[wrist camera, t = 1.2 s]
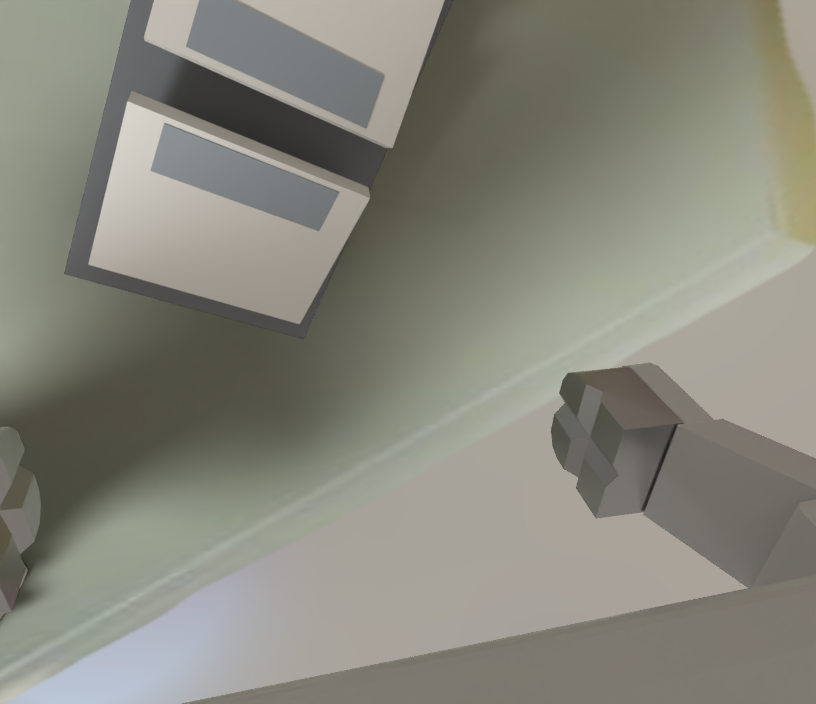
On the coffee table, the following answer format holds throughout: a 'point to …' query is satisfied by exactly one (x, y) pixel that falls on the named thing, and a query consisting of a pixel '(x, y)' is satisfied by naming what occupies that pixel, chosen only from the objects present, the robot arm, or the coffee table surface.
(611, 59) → the coffee table surface
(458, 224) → the coffee table surface
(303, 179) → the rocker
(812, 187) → the coffee table surface
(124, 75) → the switch console
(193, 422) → the coffee table surface
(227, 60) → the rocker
